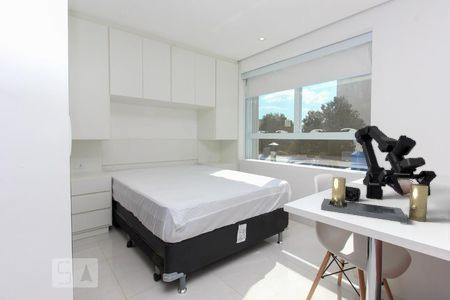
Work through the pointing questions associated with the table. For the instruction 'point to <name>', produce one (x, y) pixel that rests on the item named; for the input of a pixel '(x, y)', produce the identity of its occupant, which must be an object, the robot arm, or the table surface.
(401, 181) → the decorative fruit
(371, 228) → the table surface
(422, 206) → the brass billet
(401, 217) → the plate
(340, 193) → the cylinder
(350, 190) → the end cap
